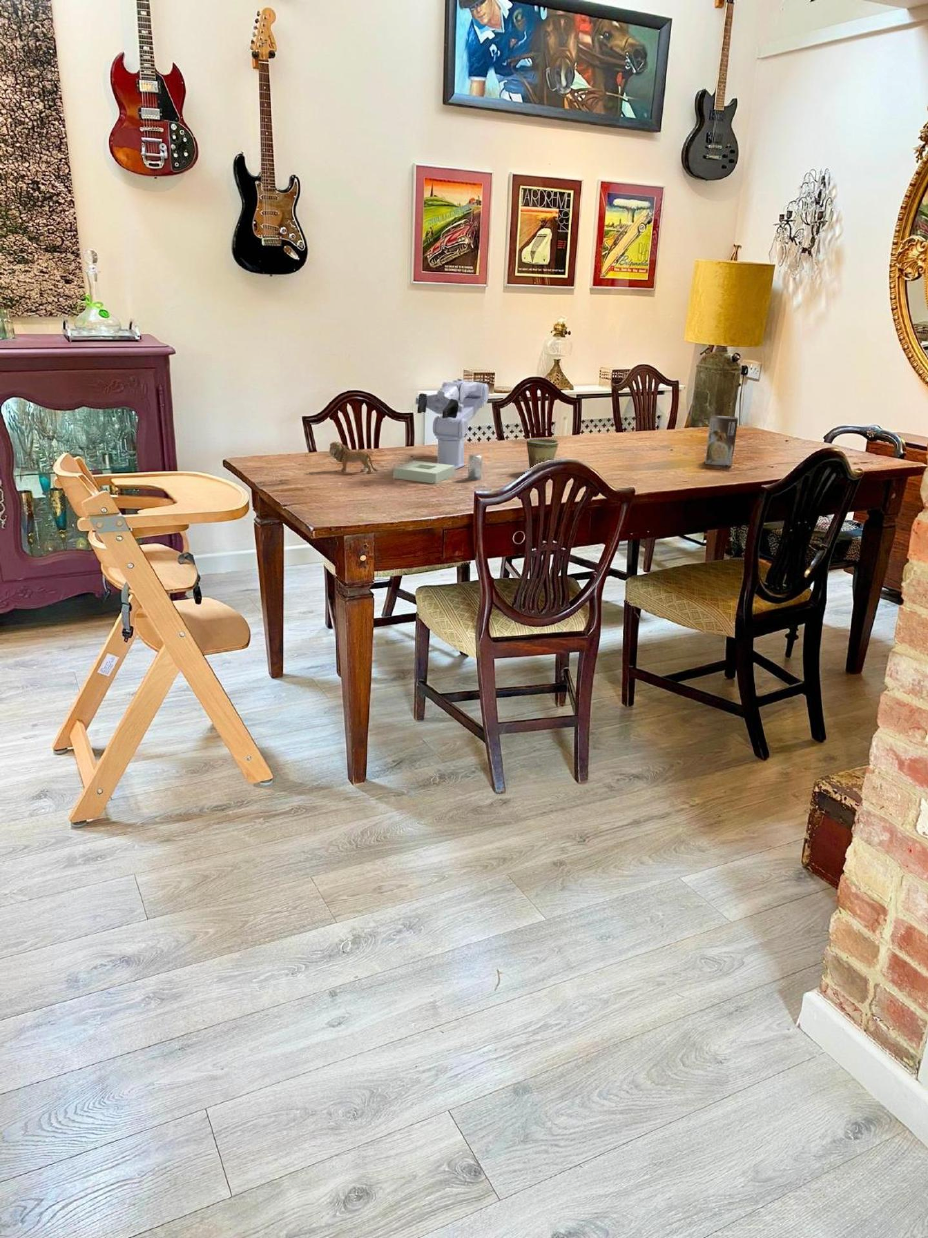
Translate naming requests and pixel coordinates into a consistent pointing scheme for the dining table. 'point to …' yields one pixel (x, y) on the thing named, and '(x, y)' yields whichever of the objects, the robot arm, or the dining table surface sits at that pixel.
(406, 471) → the socket block
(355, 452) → the lion figurine
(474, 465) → the peg
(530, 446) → the ceramic cup
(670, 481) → the dining table surface
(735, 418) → the coffee box
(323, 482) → the dining table surface
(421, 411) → the robot arm
